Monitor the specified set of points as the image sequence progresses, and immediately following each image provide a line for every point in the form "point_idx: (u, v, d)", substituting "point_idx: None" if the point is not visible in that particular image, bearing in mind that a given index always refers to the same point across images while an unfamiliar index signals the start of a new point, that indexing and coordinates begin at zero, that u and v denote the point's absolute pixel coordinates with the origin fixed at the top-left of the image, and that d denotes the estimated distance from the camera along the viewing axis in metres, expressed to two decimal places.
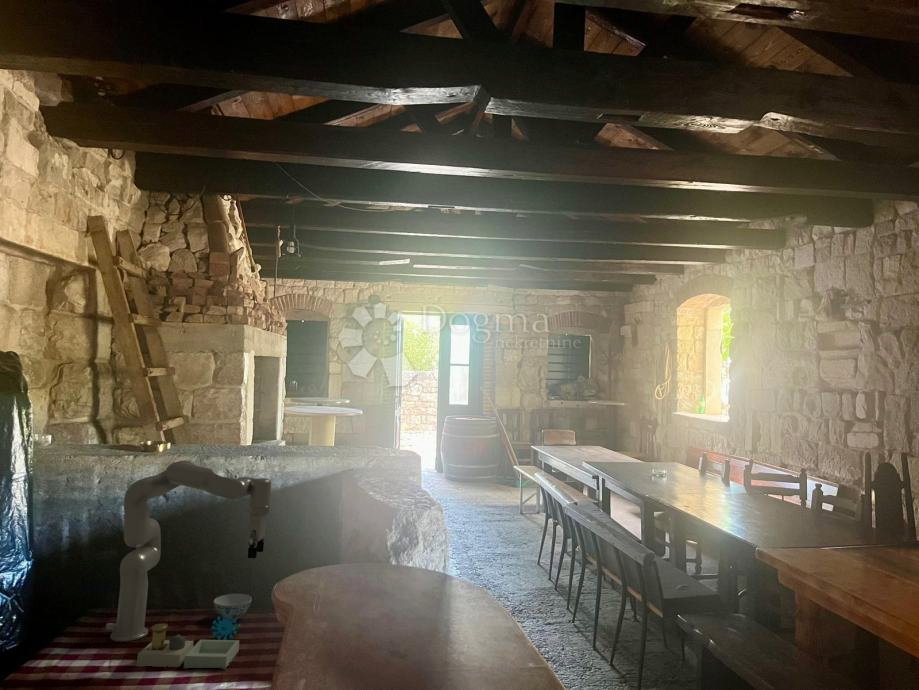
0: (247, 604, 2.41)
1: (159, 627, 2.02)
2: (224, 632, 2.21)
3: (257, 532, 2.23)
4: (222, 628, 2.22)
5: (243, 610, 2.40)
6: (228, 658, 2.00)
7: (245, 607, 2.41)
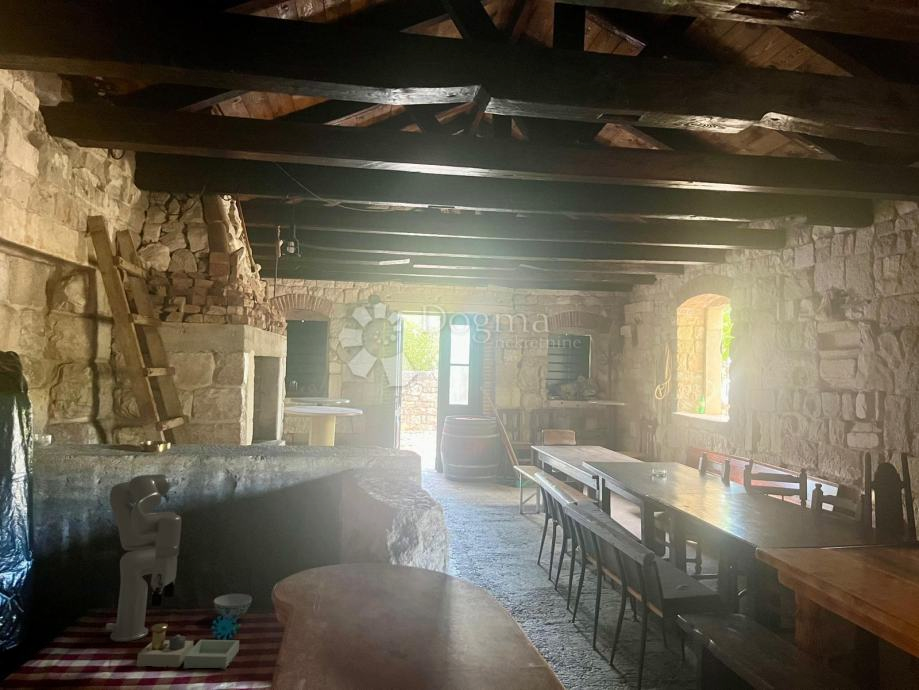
0: (247, 604, 2.41)
1: (159, 627, 2.02)
2: (224, 632, 2.22)
3: (163, 576, 2.01)
4: (222, 628, 2.22)
5: (243, 610, 2.40)
6: (228, 658, 2.00)
7: (245, 607, 2.41)
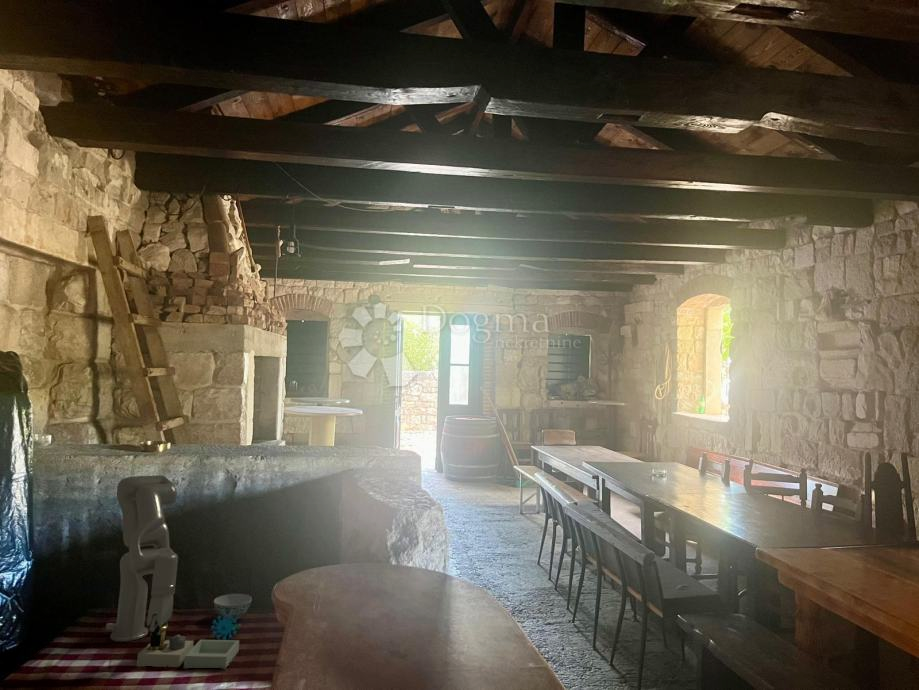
0: (247, 604, 2.41)
1: None
2: (224, 632, 2.22)
3: (158, 616, 1.99)
4: (222, 628, 2.23)
5: (243, 610, 2.40)
6: (228, 658, 2.00)
7: (245, 607, 2.41)
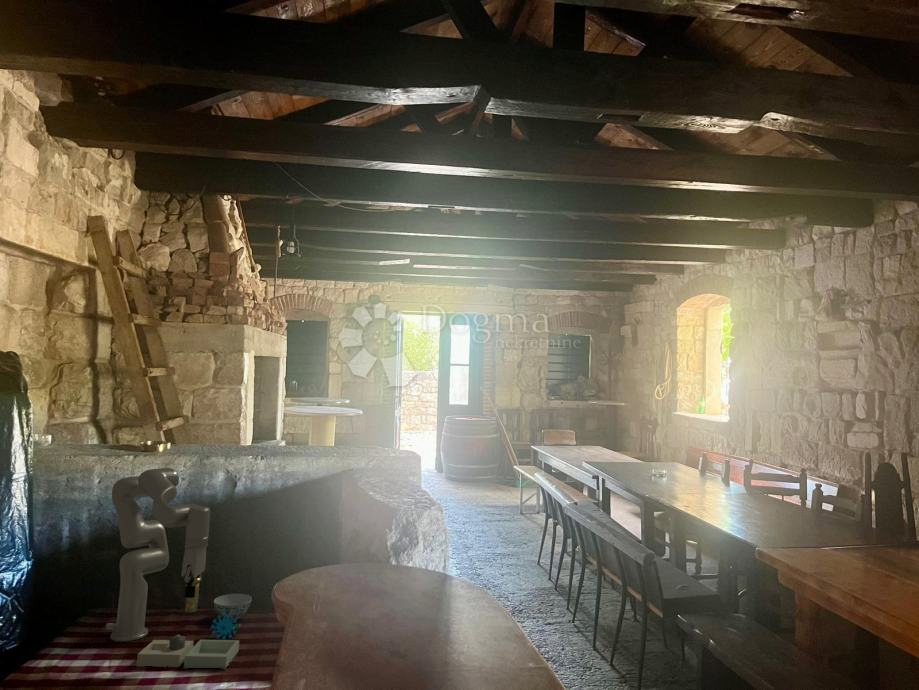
0: (247, 604, 2.41)
1: None
2: (223, 631, 2.22)
3: (193, 567, 2.02)
4: (222, 627, 2.23)
5: (243, 610, 2.40)
6: (228, 658, 2.00)
7: (245, 607, 2.41)
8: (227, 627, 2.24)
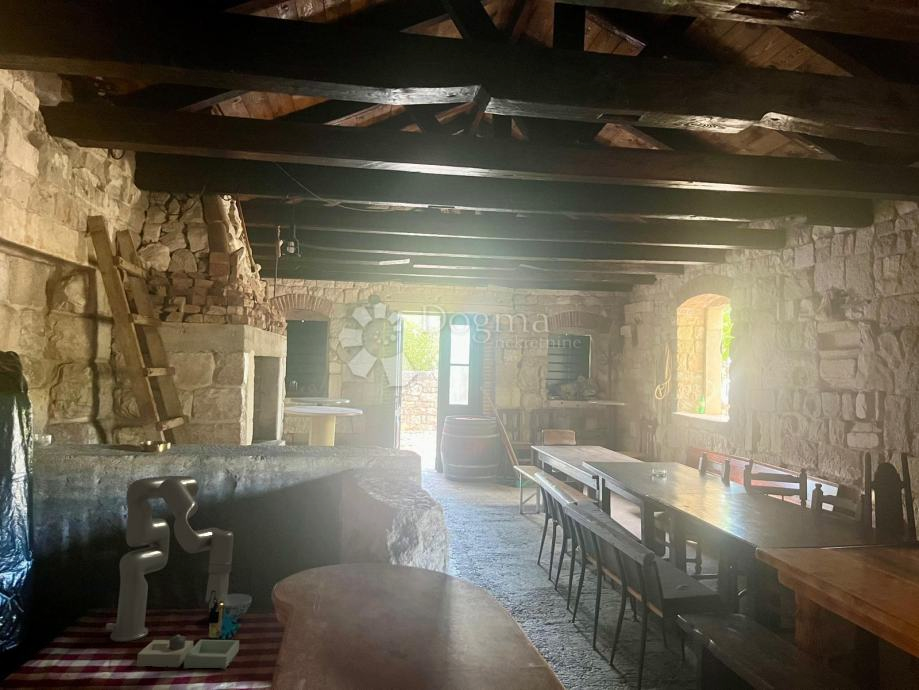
0: (247, 604, 2.41)
1: None
2: (223, 631, 2.22)
3: (217, 593, 2.01)
4: (222, 627, 2.23)
5: (243, 610, 2.40)
6: (228, 658, 2.00)
7: (245, 607, 2.41)
8: (227, 627, 2.24)
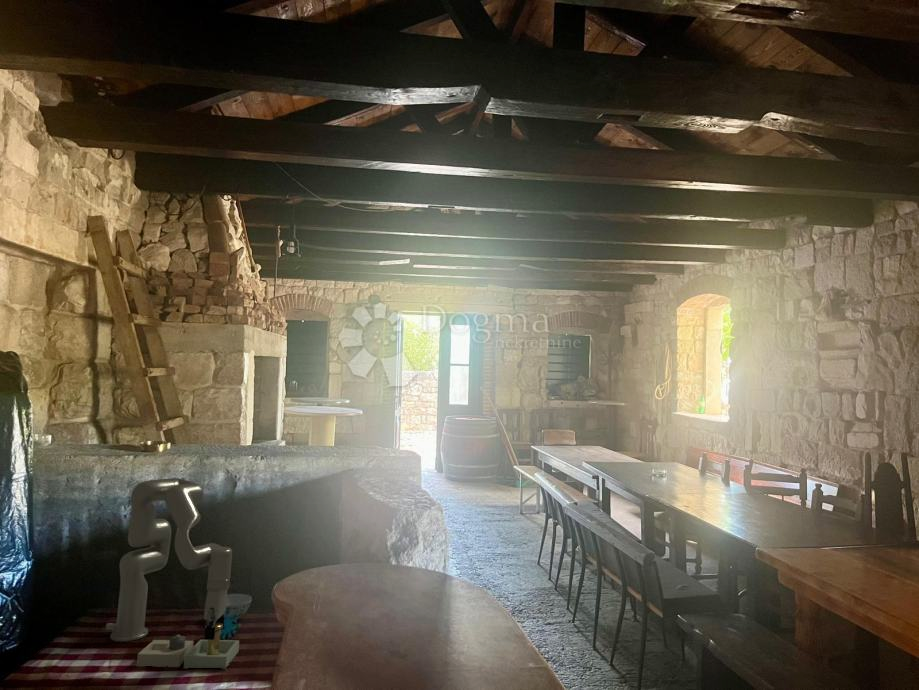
0: (247, 604, 2.41)
1: (215, 626, 2.04)
2: (223, 631, 2.23)
3: (215, 610, 2.01)
4: None
5: (243, 610, 2.40)
6: (228, 658, 2.00)
7: (245, 607, 2.41)
8: (227, 627, 2.24)
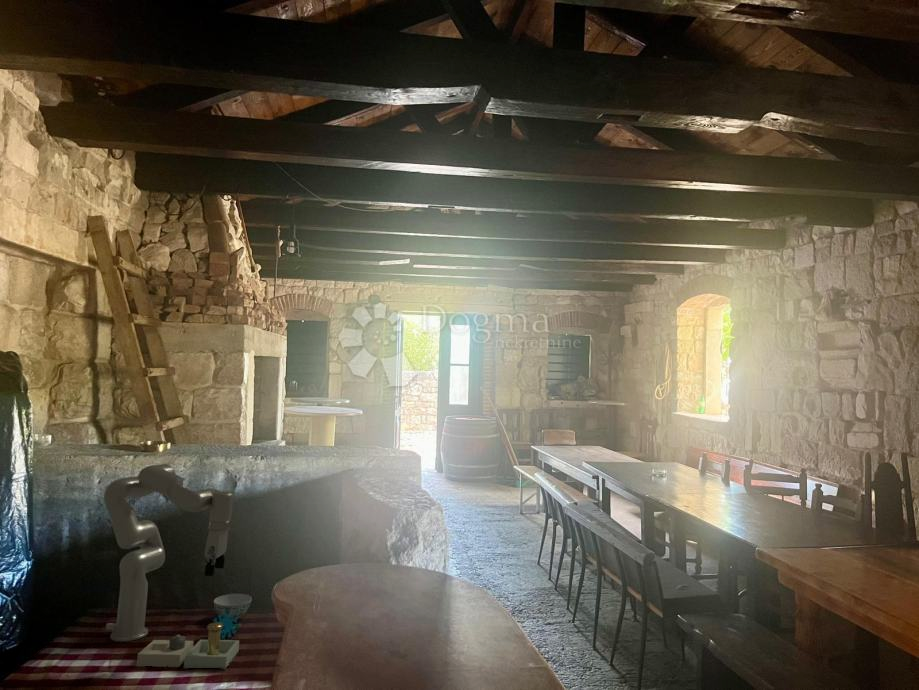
0: (247, 604, 2.41)
1: (215, 626, 2.04)
2: (223, 631, 2.23)
3: (215, 548, 2.13)
4: None
5: (243, 610, 2.40)
6: (228, 658, 2.00)
7: (245, 607, 2.41)
8: (227, 626, 2.24)
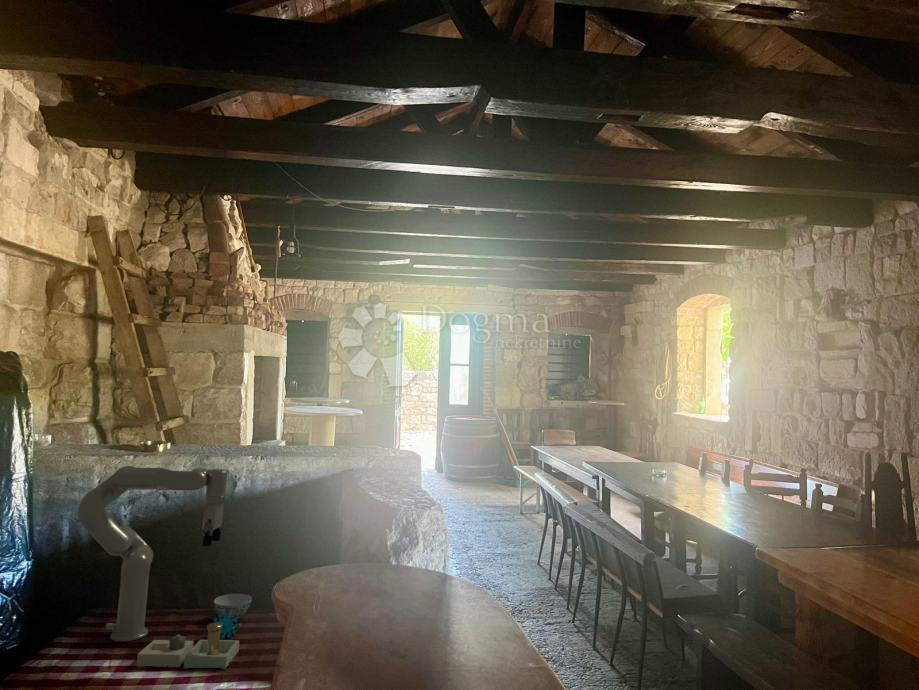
0: (247, 604, 2.41)
1: (214, 626, 2.04)
2: (223, 630, 2.23)
3: (212, 521, 2.30)
4: None
5: (243, 610, 2.40)
6: (228, 658, 2.00)
7: (245, 607, 2.41)
8: (227, 626, 2.25)
